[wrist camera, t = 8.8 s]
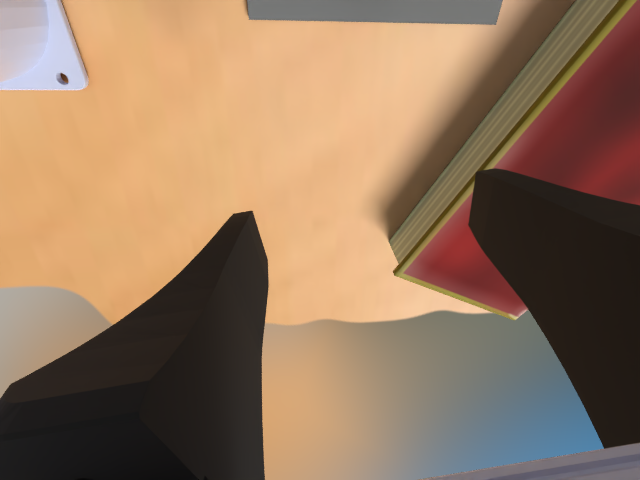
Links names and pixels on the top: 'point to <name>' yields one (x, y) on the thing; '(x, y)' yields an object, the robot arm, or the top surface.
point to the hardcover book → (537, 148)
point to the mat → (378, 11)
